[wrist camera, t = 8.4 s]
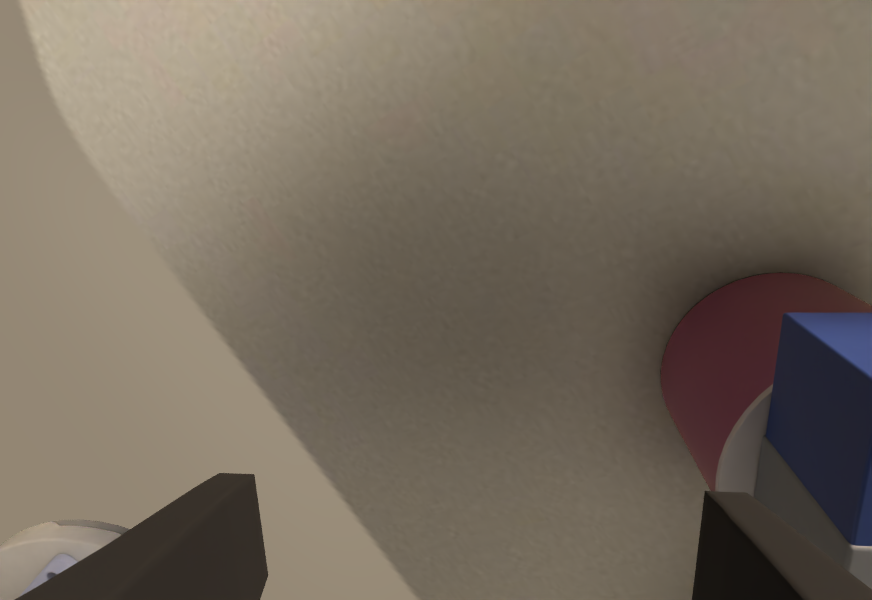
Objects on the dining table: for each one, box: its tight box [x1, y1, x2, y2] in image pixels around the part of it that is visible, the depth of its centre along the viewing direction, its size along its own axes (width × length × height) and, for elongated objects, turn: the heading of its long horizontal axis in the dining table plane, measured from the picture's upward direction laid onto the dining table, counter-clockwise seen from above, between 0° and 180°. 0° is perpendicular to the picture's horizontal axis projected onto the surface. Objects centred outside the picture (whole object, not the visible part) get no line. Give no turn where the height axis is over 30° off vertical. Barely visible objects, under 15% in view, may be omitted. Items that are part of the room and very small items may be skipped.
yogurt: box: [661, 273, 872, 497], centre depth 16 cm, size 7×7×6 cm
